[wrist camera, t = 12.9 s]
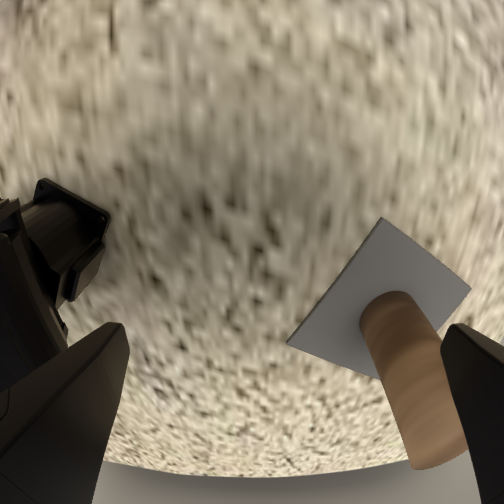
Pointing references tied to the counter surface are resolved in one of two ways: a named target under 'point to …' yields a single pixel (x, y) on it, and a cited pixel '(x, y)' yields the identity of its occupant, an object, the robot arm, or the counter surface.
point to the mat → (371, 286)
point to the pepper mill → (413, 378)
